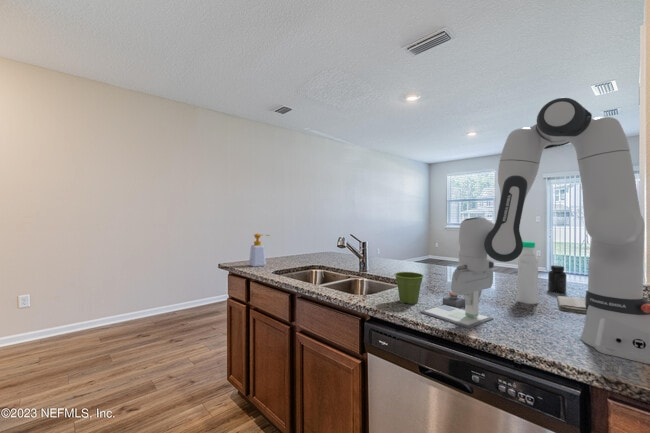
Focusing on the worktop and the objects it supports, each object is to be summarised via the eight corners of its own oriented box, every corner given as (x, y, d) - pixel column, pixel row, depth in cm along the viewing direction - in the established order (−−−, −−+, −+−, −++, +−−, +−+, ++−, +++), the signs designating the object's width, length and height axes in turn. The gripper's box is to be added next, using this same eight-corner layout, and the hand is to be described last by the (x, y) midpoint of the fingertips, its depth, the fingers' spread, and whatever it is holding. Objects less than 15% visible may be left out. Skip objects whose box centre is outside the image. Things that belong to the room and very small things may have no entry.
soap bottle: (272, 265, 213) (272, 233, 213) (252, 267, 206) (252, 234, 206) (267, 263, 221) (267, 232, 221) (248, 265, 215) (248, 233, 214)
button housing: (465, 305, 122) (465, 299, 122) (456, 308, 118) (456, 301, 118) (451, 301, 127) (451, 295, 127) (442, 304, 123) (442, 298, 123)
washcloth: (559, 311, 116) (559, 303, 116) (555, 300, 131) (555, 293, 131) (601, 317, 109) (601, 309, 109) (592, 305, 124) (592, 297, 124)
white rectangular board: (493, 319, 106) (493, 317, 106) (469, 328, 97) (469, 325, 97) (444, 305, 121) (444, 303, 121) (419, 312, 113) (419, 310, 113)
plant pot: (388, 301, 128) (388, 274, 127) (405, 296, 135) (405, 270, 135) (412, 308, 118) (412, 278, 118) (429, 302, 126) (429, 275, 126)
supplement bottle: (544, 290, 146) (544, 265, 146) (554, 289, 148) (555, 264, 148) (559, 294, 140) (559, 267, 140) (570, 292, 142) (570, 267, 142)
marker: (478, 316, 106) (479, 285, 105) (473, 317, 104) (474, 286, 104) (469, 313, 108) (470, 283, 108) (464, 315, 106) (465, 285, 106)
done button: (460, 302, 122) (460, 293, 122) (455, 303, 120) (455, 294, 120) (452, 300, 125) (452, 291, 125) (447, 301, 123) (447, 292, 123)
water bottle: (517, 299, 131) (517, 240, 131) (537, 301, 128) (537, 241, 127) (517, 303, 125) (518, 241, 125) (538, 305, 121) (539, 242, 121)
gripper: (464, 268, 97) (463, 311, 97) (496, 262, 109) (496, 301, 109) (446, 265, 102) (446, 306, 103) (479, 260, 114) (479, 297, 114)
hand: (472, 303), depth 106 cm, fingers closed on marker, 3 cm apart
